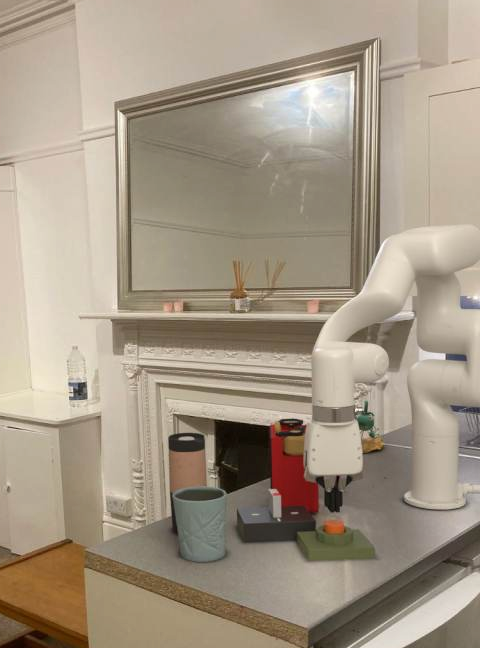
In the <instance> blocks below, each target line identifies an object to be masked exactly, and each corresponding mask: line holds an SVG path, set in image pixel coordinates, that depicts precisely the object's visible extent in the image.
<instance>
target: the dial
mask: <svg viewBox="0 0 480 648" xmlns="http://www.w3.org/2000/svg"><path fill="white" fill-rule="evenodd" d="M267 491H268V492H267V493H268V507H269V511H270V513H271V515H272V516H273V518H281V495H280V494H279V492H278V491H277V489H271V488H268V490H267Z"/></svg>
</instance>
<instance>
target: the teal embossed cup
mask: <svg viewBox="0 0 480 648" xmlns="http://www.w3.org/2000/svg"><path fill="white" fill-rule="evenodd" d="M227 496H228V493H227V492H226V490H224V489H223V488H219V487H217V486H216V487H215V486H207V487H206V486H197V487H189V488H183V489H180V490H177V491H175V492H174V493H173V495H172V497H173V503H174V510H175V516H176V521H177V522H176V523H177V524H176V525H177V528H178V529H177V531H178V534H177V536H178V544H179V553H180V556H181V557H182V558H183V559H185V560H187V561H190V562H197V563H199V562H200V563H204V562H206V563H208V562H214V561H217V560H221V559H222V558H223V557H225V555H226V527H227V526H226V522H227V520H226V518H227V508H226V507H227Z"/></svg>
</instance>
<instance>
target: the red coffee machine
mask: <svg viewBox="0 0 480 648" xmlns="http://www.w3.org/2000/svg"><path fill="white" fill-rule="evenodd" d="M306 426H307V424H304V419H300V418H295V417H293V418H281V419H279V420H277V421H275V422H274V423H272V424H271V423H270V425H268V427H269V428H268V430H267V432H268V433H267V434H268V436H269V441H268V447H269V474H270V475H269V476H270V477H269V479H270V489H277V491H278V492H279V494H280V495H281V506H305V507H306V509H307V510H308V511H309V512H310V514H312V513H313V514H314V513H315V514H316V513H317V514H319V513H320V512H319V510H320V500H319V498H320V496H319V494H320V493H319V488H320V487H319V486H320V485H319V484H318V483H315V482H310V481H306V480H305V479H304V473H305V468H304V464H303V457H304V441H305V432H306Z"/></svg>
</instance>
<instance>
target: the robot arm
mask: <svg viewBox="0 0 480 648" xmlns="http://www.w3.org/2000/svg"><path fill="white" fill-rule="evenodd" d="M479 261H480V228H479V227H478V226H476V225H474V224H471V223H466V224H465V223H462V224H449V225H431V226H429V225H428V226H420V227H414V228H409V229H406V230H403V231H402V232H400V233H396V234H392V235H389V237H387V238H385V240H384V241H383V242H382V243H381V245H380V247H379V250H378V252H377V254H376V256H375V259H374V261H373V264H372V265H371V268H370V270H369V272H368V274H367V277H366V279H365V281H364V284H363V287H362V289H361V291H360V292H359V293H358V294H357V295H356V296H354V297H352V299H350V300H348V301H347V302H346V303H344V304H343V305H342V306H341V307H340V308H339V309H337V310H336V311H335V312H334V313H332V315H330V316H329V317H328V319H327V320H326V321H325V322H324V324H323V326H322V328H321V329H320V332H319V334H318V337H317V339H316V340H315V344H314V345H313V349H312V352H311V357H310V365H311V419H310V420H307V422H306V425H307V426H306V432H305V441H304V457H303V464H304V468H305V473H304V479H305V480H306V481H310V482H315V483H318V484H319V486H320V487H321V488H322V489H323V494H324V495H323V499H324V501H323V502H324V503H323V504H324V507H325V508H327V510H328V511H329V512H330V513H331V514H333V513H341V507H342V508H343V505H344V504H343V502H344V501H343V495H344V494H343V492H344V491H345V490H346V488H347V487H348V486H349V485H350V484H351V483H352V482H356V481H359V480H362V479H363V478H364V474H363V467H364V456H363V454H362V444H361V437H362V435H361V433H360V432H361V430H359V425H358V421H357V420H355V416H356V415H358V416H359V415H361V414H362V411H363V408H362V406H356V404H355V384H372V383H376V382H378V381H380V380H381V379H382V378H383V377H384V376H385V375H386V374H387V373H388V371H389V367H390V358H389V355H388V353H387V351H386V350H385V349H384V348H383V347H382V346H380V345H378V344H375V343H371V342H355V341H348V340H349V339H350V338H351V337H352V336H354V334H356V333H357V332H360V331H361V330H363V329H365V328H367V327H369V326H372V325H375V324H378V323H381V322H383V321H386V320H388V319H390V318H393V317H395V316H397V315H398V314H399V313H401V312H402V311H403V309H404V307H405V305H406V302H407V300H408V297H409V294H410V293H411V290H412V287H413V285H414V283H415V285H416V294H417V295H416V296H417V297H416V298H417V301H416V327H415V328H416V329H415V330H416V331H415V332H416V333H415V335H416V343H417V346H418V347H419V348H420V350H422V351H424V352H426V353H434V354H445V355H464V356H465V357H466V360H453V359H436V358H435V359H434V358H432V359H431V358H429V359H422V360H419V361H417V362H415V363H414V364H412V365H411V366H410V368H409V370H408V372H407V374H406V375H407V376H406V384H407V385H406V386H407V392H408V396H409V402H410V411H411V490H409V491H407V492H405V493H404V495H403V500H404V502H405V503H407V504H408V505H409V506H413V507H416V508H421V509H426V510H435V511H436V510H440V511H441V510H443V511H445V510H447V511H448V510H455V509H460V508H462V507H464V506H466V504H467V497H466V496H467V494H472V495H474V494H480V484H471V483H470V482H461V481H459V464H460V463H459V459H460V456H459V455H460V423H459V420H458V417H457V415H456V413H455V412H454V410H453V408H452V407H451V406H457V407H465V408H466V407H467V408H480V309H479V308H462V307H461V284H460V281H459V279H458V277H457V275H456V274H455V273H457V272H460V271H463V270H466V269H468V268H471V267H473V266H475V265H476V264H477V263H478V262H479ZM331 476H332V477H333V476H334V477H335V479H334V485H333V484H332V479H331ZM332 485H333V486H332Z"/></svg>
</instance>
